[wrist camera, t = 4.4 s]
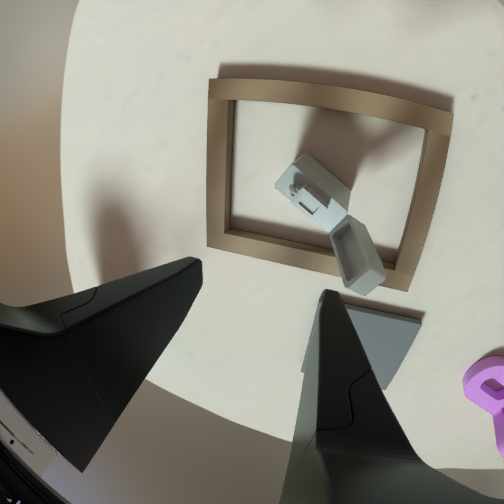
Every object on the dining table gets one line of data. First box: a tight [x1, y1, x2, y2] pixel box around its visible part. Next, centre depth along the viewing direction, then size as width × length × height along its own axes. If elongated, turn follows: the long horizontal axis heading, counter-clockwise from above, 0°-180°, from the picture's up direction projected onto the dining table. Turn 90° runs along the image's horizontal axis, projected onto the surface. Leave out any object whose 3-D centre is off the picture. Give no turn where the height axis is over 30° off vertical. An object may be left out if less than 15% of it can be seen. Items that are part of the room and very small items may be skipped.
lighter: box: [275, 153, 387, 296], centre depth 17 cm, size 7×2×8 cm, turn 55°
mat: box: [301, 298, 422, 390], centre depth 25 cm, size 9×9×1 cm
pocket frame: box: [206, 78, 454, 292], centre depth 20 cm, size 16×13×1 cm
